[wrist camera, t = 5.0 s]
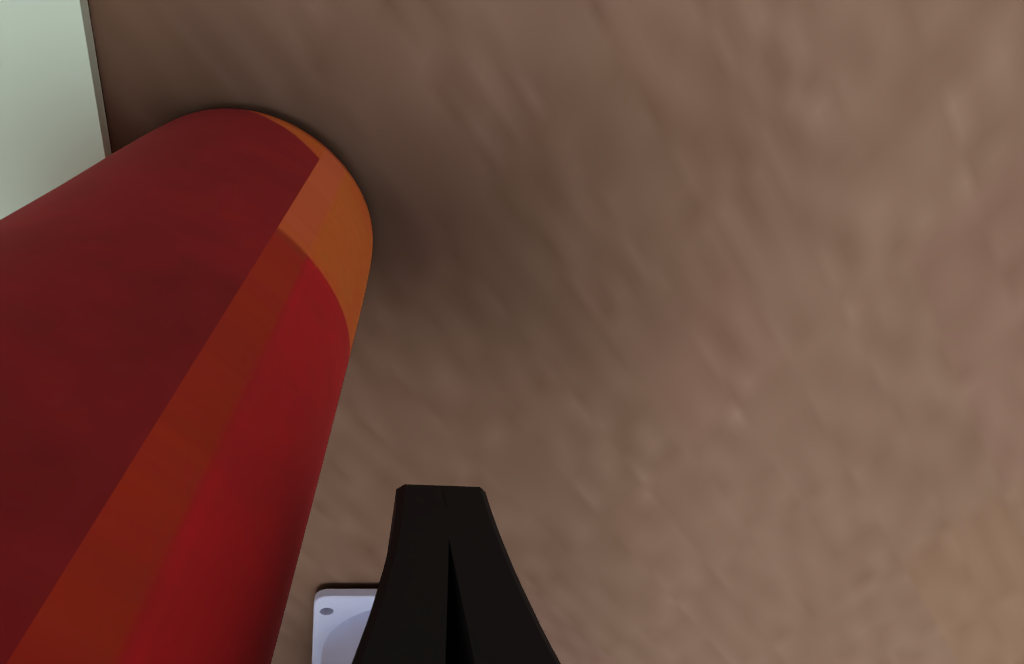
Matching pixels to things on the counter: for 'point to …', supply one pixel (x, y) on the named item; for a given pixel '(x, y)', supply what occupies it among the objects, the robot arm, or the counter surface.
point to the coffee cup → (172, 390)
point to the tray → (47, 99)
